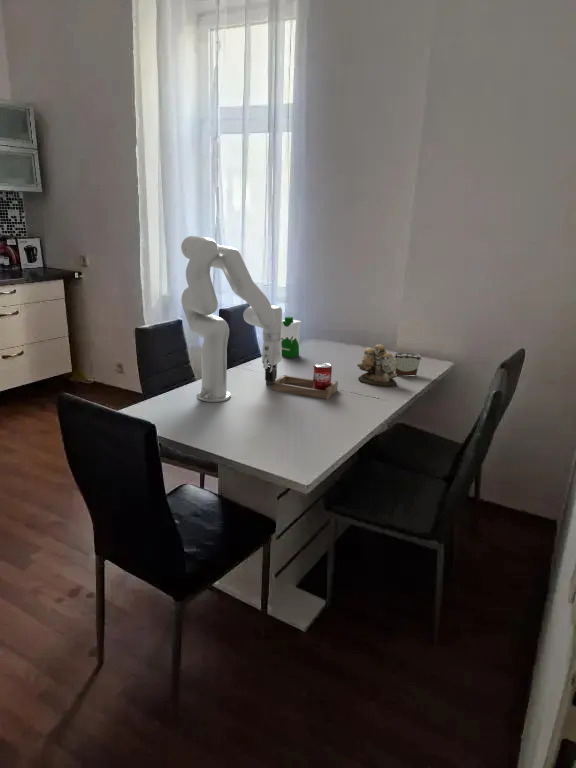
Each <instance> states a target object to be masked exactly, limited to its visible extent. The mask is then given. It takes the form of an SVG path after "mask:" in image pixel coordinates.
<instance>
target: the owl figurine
mask: <svg viewBox="0 0 576 768" xmlns="http://www.w3.org/2000/svg"><path fill="white" fill-rule="evenodd" d="M363 354H364V355H363V357H362V360H361V363H357V365H356V366H357V367H359V369H360V371H365V373H362V375H360V376H359V377H358V379H357V380H358V382H359V381H360V382H359V383H360V384H364V385H365V384H366V385H369V386H375V387H381V388H394V387H393V386H395V387H396V386H397V381H396V380H395V379H394V378H397V377H398V376H397V375H396V374H395V370H396V368H397V367H396V366H397V361H395V358H394V355H393V354H392V353H389V352H387V351H386V347H385V346H384V345H382V344H381V343H379V344H376V345H375V347H374V349H373V348H372V347H366V348H365V350H364V353H363Z"/></svg>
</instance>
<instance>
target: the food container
mask: <svg viewBox="0 0 576 768" xmlns="http://www.w3.org/2000/svg"><path fill="white" fill-rule="evenodd" d="M393 358H394V360H395V361H397V366H396V367H397V368H396V370H395V372H394V374H397V375H416V376H417V374H418V369H419V365H420V362H421V361H422V357H421V355H420V354H419V353H416V352H409V351H400V352H395V354H394V355H393Z"/></svg>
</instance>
